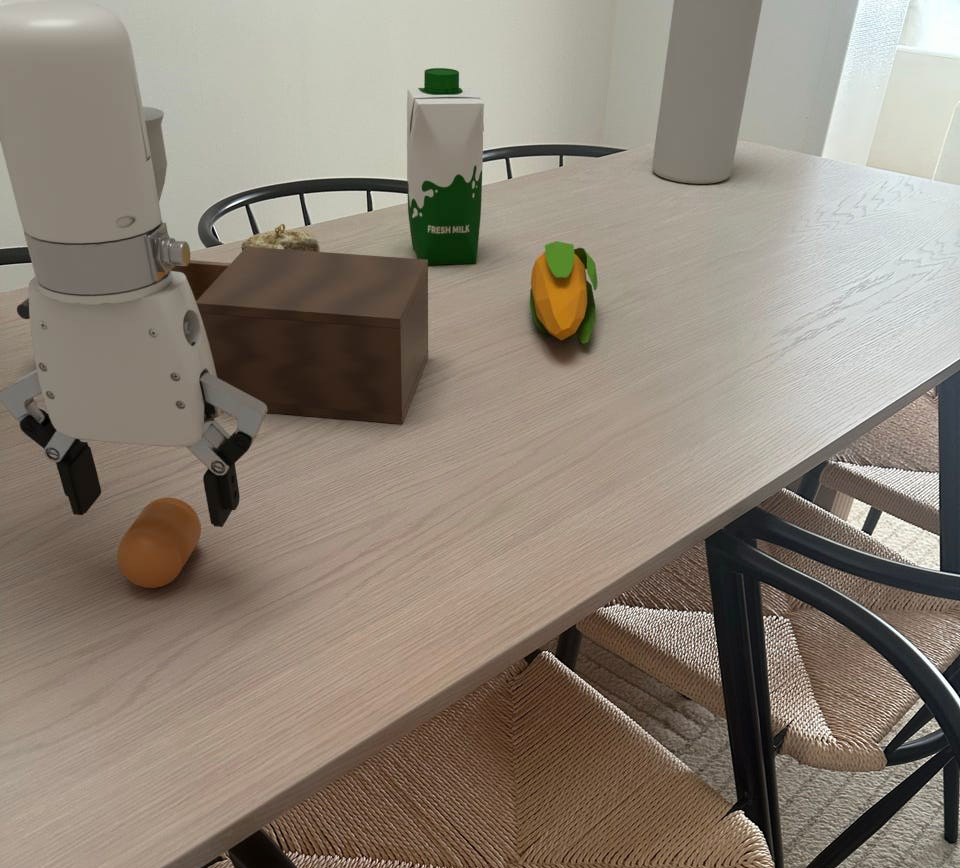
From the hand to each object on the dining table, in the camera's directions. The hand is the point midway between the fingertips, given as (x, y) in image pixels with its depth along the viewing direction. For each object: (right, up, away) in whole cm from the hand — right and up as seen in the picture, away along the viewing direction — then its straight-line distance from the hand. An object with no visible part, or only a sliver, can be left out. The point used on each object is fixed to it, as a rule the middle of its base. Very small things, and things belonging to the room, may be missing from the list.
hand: (155, 510), depth 68 cm
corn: (+31, +25, +40) cm, 57 cm away
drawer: (-10, +19, +28) cm, 35 cm away
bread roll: (0, -4, +3) cm, 5 cm away
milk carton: (+18, +39, +56) cm, 71 cm away
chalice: (-14, +31, +45) cm, 56 cm away
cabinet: (+7, +16, +28) cm, 33 cm away
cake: (-1, +35, +51) cm, 62 cm away
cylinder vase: (+56, +65, +89) cm, 124 cm away
